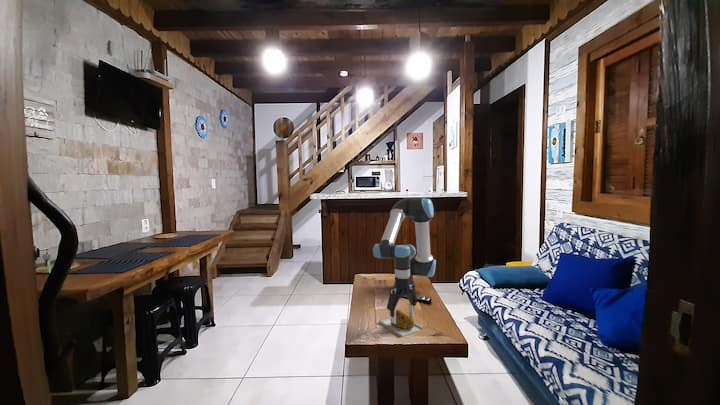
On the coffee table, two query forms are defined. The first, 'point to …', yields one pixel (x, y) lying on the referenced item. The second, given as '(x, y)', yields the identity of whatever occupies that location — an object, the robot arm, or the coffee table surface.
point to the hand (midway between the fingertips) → (402, 320)
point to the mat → (399, 330)
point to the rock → (403, 320)
